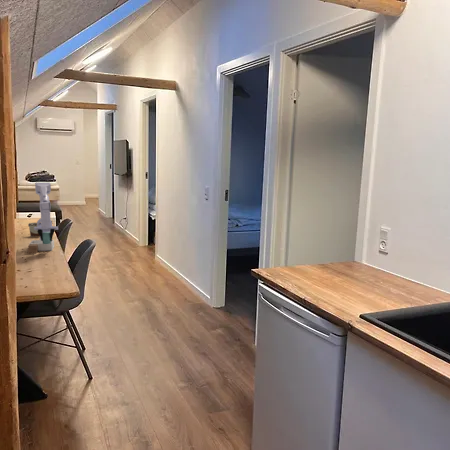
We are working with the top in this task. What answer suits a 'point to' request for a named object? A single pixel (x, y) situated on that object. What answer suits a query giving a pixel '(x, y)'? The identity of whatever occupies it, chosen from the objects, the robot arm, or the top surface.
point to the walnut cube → (33, 248)
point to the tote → (43, 245)
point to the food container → (32, 231)
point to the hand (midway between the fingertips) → (46, 240)
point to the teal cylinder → (46, 237)
